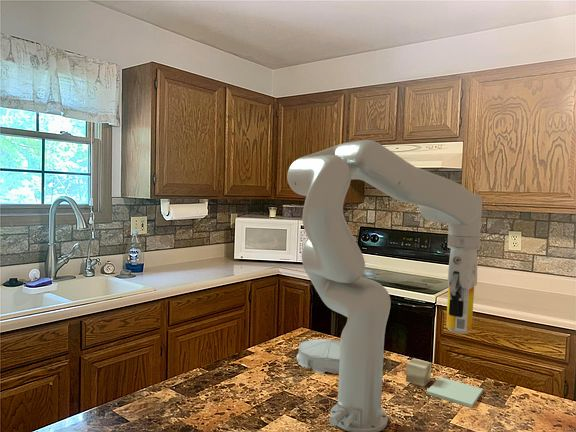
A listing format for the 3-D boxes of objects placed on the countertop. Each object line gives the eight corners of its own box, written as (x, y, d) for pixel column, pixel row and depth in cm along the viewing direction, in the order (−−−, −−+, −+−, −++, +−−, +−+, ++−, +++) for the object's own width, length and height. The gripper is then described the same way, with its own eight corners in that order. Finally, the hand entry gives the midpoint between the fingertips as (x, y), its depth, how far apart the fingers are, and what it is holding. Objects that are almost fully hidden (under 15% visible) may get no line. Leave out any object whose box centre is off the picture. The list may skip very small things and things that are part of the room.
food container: (281, 363, 130) (282, 341, 129) (318, 344, 146) (319, 324, 145) (340, 383, 118) (341, 359, 117) (373, 360, 134) (374, 339, 133)
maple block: (424, 386, 116) (425, 368, 116) (405, 381, 119) (406, 363, 119) (430, 380, 120) (431, 362, 120) (412, 375, 123) (413, 358, 123)
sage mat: (471, 407, 105) (471, 404, 105) (426, 393, 112) (426, 390, 112) (482, 391, 114) (483, 388, 114) (440, 379, 121) (440, 377, 121)
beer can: (467, 327, 115) (470, 270, 114) (474, 335, 109) (478, 274, 108) (443, 326, 115) (446, 269, 114) (449, 333, 109) (452, 273, 108)
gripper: (470, 247, 102) (465, 324, 103) (487, 241, 115) (483, 309, 116) (437, 244, 106) (433, 317, 107) (457, 238, 120) (454, 304, 121)
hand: (459, 312), depth 112 cm, fingers closed on beer can, 6 cm apart
